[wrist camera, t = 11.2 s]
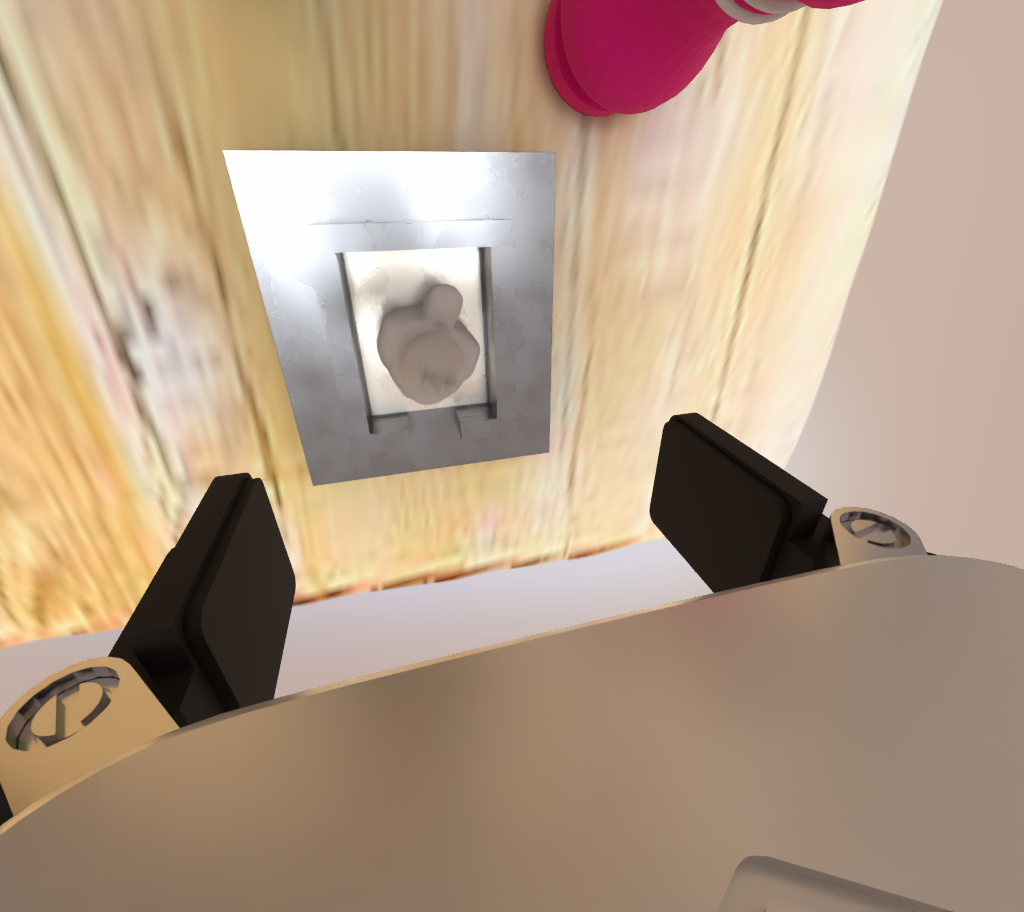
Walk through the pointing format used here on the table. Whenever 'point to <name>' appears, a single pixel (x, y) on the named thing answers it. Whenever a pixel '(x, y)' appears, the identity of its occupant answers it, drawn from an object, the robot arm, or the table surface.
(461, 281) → the plate
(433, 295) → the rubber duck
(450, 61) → the table surface
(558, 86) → the pepper mill
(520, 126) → the table surface
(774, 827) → the robot arm
